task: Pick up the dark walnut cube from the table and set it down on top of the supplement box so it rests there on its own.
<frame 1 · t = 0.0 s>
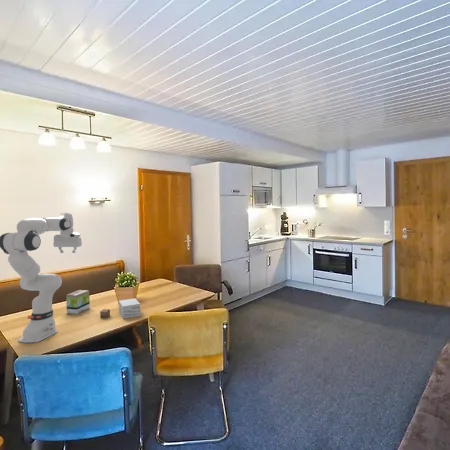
hand: (67, 252, 223), 48 cm above the table, fingers open, 8 cm apart
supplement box: (129, 314, 229), on the table
tea box: (78, 310, 237), on the table
walnut block: (105, 316, 223), on the table
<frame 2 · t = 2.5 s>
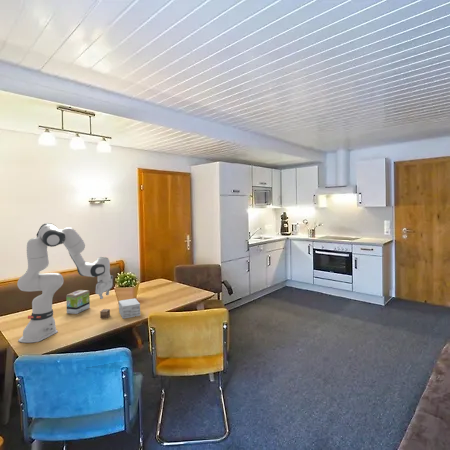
hand: (104, 296, 222), 15 cm above the table, fingers open, 8 cm apart
nothing on the table moved.
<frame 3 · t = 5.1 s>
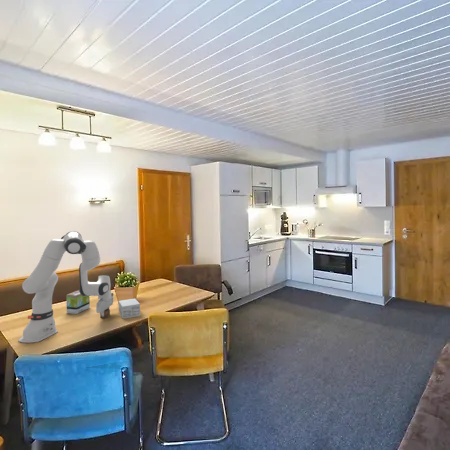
hand: (105, 314, 223), 2 cm above the table, fingers closed on walnut block, 5 cm apart
walnut block: (105, 316, 223), on the table, touching gripper
everything else where it was.
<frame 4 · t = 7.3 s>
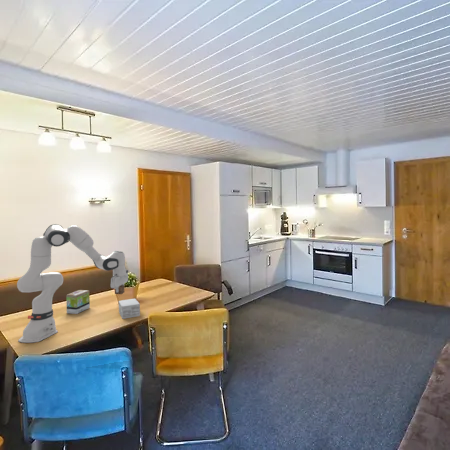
hand: (119, 290, 222), 19 cm above the table, fingers closed on walnut block, 5 cm apart
walnut block: (119, 293, 222), point 18 cm above the table, touching gripper
everything else where it was.
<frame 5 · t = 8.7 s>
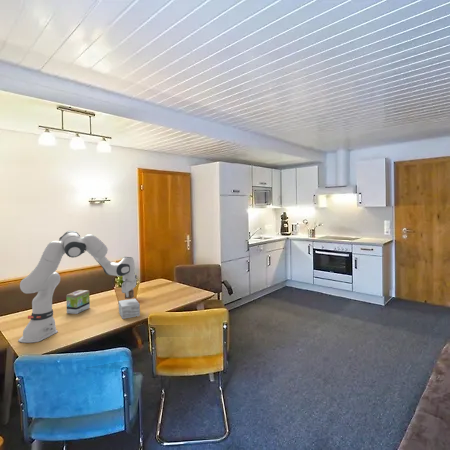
hand: (129, 295, 228), 14 cm above the table, fingers closed on walnut block, 5 cm apart
walnut block: (129, 297, 228), point 13 cm above the table, touching gripper
everything else where it was.
when the fingers open (12 cm above the table, at t = 9.6 s): walnut block stays where it is, resting on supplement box.
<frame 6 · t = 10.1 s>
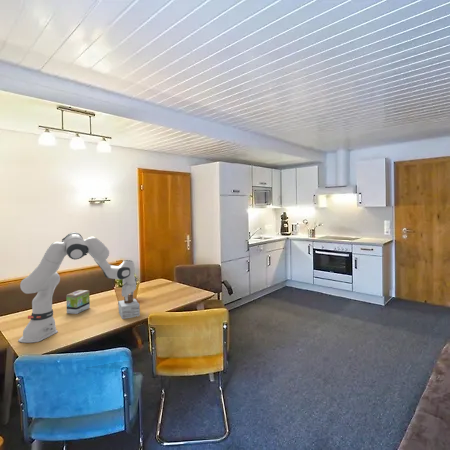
hand: (129, 298, 228), 12 cm above the table, fingers open, 8 cm apart
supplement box: (129, 314, 228), on the table, touching walnut block
walnut block: (128, 302, 228), point 9 cm above the table, touching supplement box
everything else where it was.
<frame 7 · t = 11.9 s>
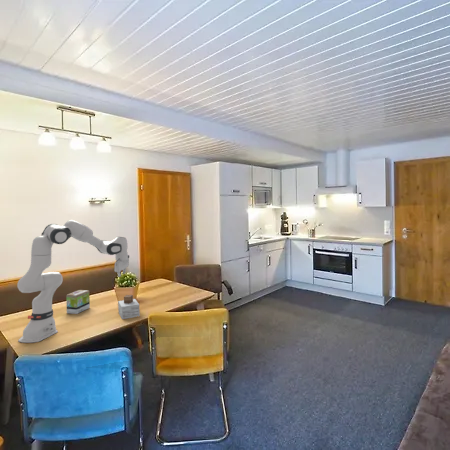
hand: (121, 275, 231), 29 cm above the table, fingers open, 8 cm apart
nothing on the table moved.
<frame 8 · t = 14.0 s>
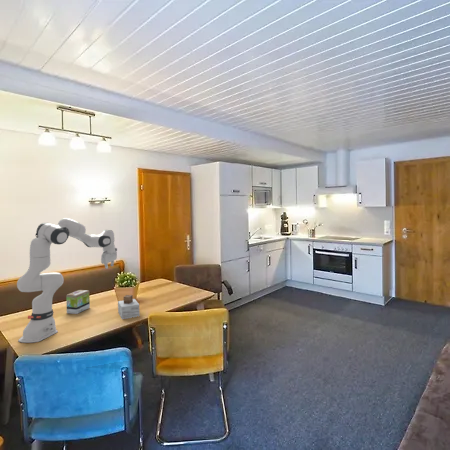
hand: (109, 267, 237), 34 cm above the table, fingers open, 8 cm apart
nothing on the table moved.
at the end: walnut block inside the target area on the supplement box (0.2 cm from its centre), point 9.6 cm above the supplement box's base; walnut block tilted 0°; the gripper is holding nothing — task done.
